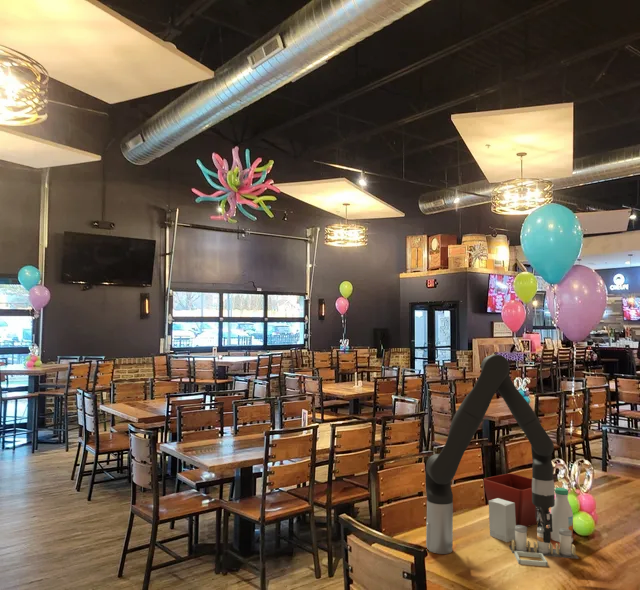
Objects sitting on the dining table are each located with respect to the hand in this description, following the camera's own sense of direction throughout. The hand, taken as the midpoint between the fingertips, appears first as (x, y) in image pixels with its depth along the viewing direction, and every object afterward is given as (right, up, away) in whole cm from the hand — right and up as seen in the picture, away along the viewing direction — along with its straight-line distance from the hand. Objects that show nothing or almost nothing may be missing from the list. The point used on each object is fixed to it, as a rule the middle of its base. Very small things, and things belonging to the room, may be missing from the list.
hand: (543, 537), depth 197 cm
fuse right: (+7, -5, -2) cm, 9 cm away
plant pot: (+2, -9, +34) cm, 35 cm away
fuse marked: (0, -5, 0) cm, 5 cm away
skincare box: (-10, -7, +13) cm, 18 cm away
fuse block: (0, -6, 0) cm, 6 cm away
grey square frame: (-8, -6, -8) cm, 12 cm away
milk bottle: (+12, -8, +12) cm, 18 cm away
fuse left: (-8, -5, +1) cm, 9 cm away
